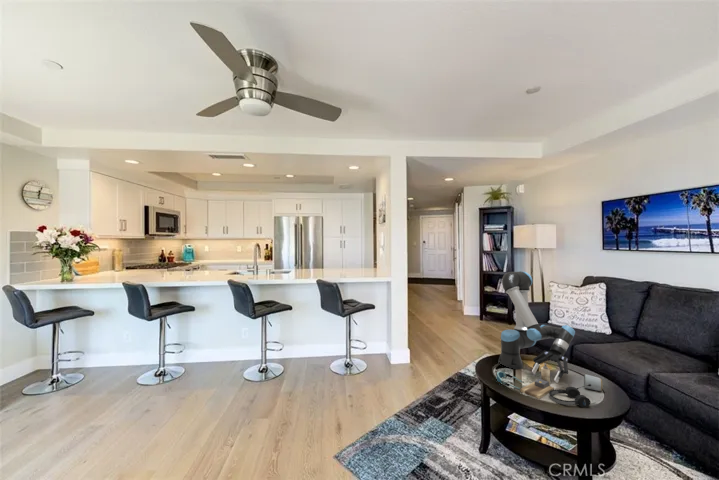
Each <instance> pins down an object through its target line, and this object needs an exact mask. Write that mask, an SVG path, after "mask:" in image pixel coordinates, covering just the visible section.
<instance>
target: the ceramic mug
mask: <svg viewBox="0 0 719 480" xmlns="http://www.w3.org/2000/svg"><path fill="white" fill-rule="evenodd" d="M588 384H591V386H587V385H588ZM583 386H584V387H583V388H584V389H587V390H593V391H596V392H601V391H603V388H604V387H603V379H602V378H600V377H598V376H593V375H589V374H586V373H585V374H584V376H583Z"/></svg>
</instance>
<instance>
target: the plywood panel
mask: <svg viewBox="0 0 719 480" xmlns="http://www.w3.org/2000/svg"><path fill="white" fill-rule="evenodd" d="M551 390H555V387H554V386H551V385H550V386H548V387H546V388H545V389H543V388H540V387H538V386H535V381H533V382H531V383H529V384H528V385H527V384H526V386H523V387H521V389H519V391H520V392H521V393H522V394H525V395H528V396H530V397H533V398H535V399H538V400H540V399H542V398H543V397H545V396H546V395H548V394H549V392H550V391H551Z"/></svg>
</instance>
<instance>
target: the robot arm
mask: <svg viewBox="0 0 719 480" xmlns="http://www.w3.org/2000/svg"><path fill="white" fill-rule="evenodd" d="M501 285H502V288H503V291H504V292H505V294H508V296H509V299H510V300H511V302H512V303H513V306H514V311H515V326H514V327H513V329H504V330H502V331H501V334H500V355H499V357H498V363H499V362H500V363H501V364H502V365H504V366H506V367H509V368H508V369H510V368H513V369H512V370H520V369H521V370H522V369H523V367H524V366H523V365H524V364H523V360H522V358H521V354H520V353H521V352H520V351H521V349H525V348H526V349H527V348H531V347H534V346H535V345H536V343H537V342H538V341H541V340H547V339H554V341H553V343H552V345H551V347H550V348H549V350H548V351H547V350H545V349H543V350H542V352H541V353H539V354H538V355H536V356H535V357H533V359H532V361H533V362H534V363H533V365H532V367H533V368H532V370H531V372H532V374H533V375H536V373H537V371H538V369H539V367H540V365H541V364H544V363H546V362H548V361H549V362H550V361H551V362H554V363H557V366H558V368H559V370H558V371H557V373H556V375H555V377H554V378H553V381H554V382H555V383H556V384H558V383H559V381H560V379H562V378H563V376H564V374H566V375H569V366H568V362H569V359H568V357H567V356H565V354H566V353H567V351H568V348H569V346H570V344H571V343H572V341H573V339H574V337H575V335H576V330H575V329H574V328H573V327H571V326H569V325H562V326H561V327H557V326H551V325H548V324H541V325H540V324H539V323H538V321H537V319H536V316H535V315H534V314H533V312H532V310H531V308H530V306H529V298H528V297H529V295H528V293H529V292H530V287H531V286H532V285H533V278H532V276H531V274H530V273H529V272H526V271H508V272H506V273H504V274H503V276H502V279H501ZM561 361H562V362H563V364H562V363H561ZM506 367H505V368H506Z"/></svg>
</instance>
